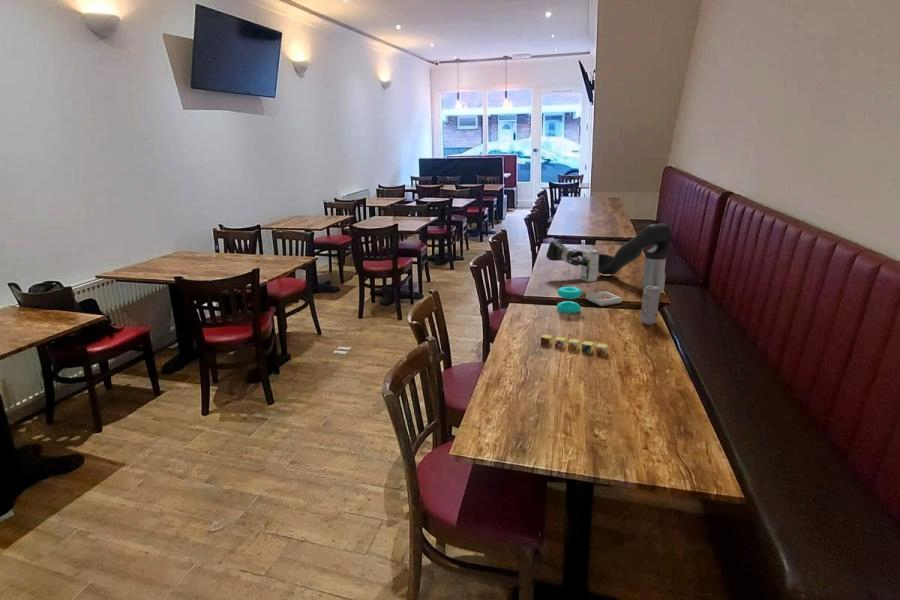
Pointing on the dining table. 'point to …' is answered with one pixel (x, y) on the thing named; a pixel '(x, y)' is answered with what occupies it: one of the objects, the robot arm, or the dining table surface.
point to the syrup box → (590, 265)
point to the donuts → (569, 294)
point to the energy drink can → (650, 305)
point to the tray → (594, 299)
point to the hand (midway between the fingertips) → (593, 263)
